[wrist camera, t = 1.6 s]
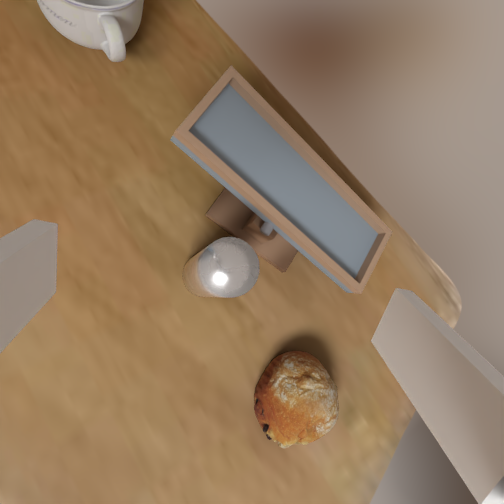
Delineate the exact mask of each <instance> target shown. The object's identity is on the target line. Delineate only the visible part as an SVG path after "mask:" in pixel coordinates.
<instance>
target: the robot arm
mask: <svg viewBox="0 0 504 504" xmlns="http://www.w3.org/2000/svg"><path fill="white" fill-rule="evenodd" d="M57 233H58V224H56V223H51V222H45V221H40V220H35V219H33V220H32V221H30V222H28V223H26V224H25V225H23V226H21V227H19V228H18V229H16V230H14V231H12V232H11V233H9V234H7V235H5V236H4V237H2V238H0V353H1V352H2V351H3V350H4V349H5V347H6V346H7V345H8V344H9V343H10V342H11V341H12V340H13V339H14V338H15V337H16V335H17V334H18V333H19V332H20V331H21V330H22V329H23V328H24V327H25V326H26V324H27V323H28V322H29V321H30V320H31V319H32V318H33V317H34V316H35V315H36V314H37V312H38V311H39V310H40V309H41V308H42V307H43V306H44V305H45V304H46V303H47V301H48V300H49V299H50V298H51V297H52V296H53V295H54V294H55V293H56V272H57ZM371 342H372V343H373V345H374V346H375V348H376V349H377V351H378V352H379V354H380V355H381V357H382V358H383V360H384V361H385V363H386V364H387V366H388V367H389V369H390V370H391V372H392V373H393V375H394V376H395V378H396V379H397V381H398V382H399V384H400V386H401V387H402V389H403V390H404V392H405V393H406V395H407V396H408V398H409V399H410V401H411V402H412V404H413V405H414V407H415V408H416V410H417V411H418V413H419V414H420V416H421V417H422V419H423V420H424V422H425V423H426V425H427V426H428V428H429V429H430V431H431V432H432V434H433V435H434V437H435V438H436V440H437V441H438V443H439V444H440V446H441V447H442V449H443V450H444V452H445V453H446V455H447V456H448V458H449V459H450V461H451V463H452V464H453V465H454V467H455V468H456V470H457V472H458V473H459V475H460V476H461V478H462V479H463V481H464V482H465V484H466V485H467V487H468V488H469V490H470V491H471V493H472V494H473V495H474V497H475V499H476V500H477V502H478V503H479V504H504V376H503V375H502V374H501V373H500V372H499V371H498V370H496V368H494V367H493V366H492V365H491V364H490V363H489V362H488V361H487V360H486V359H485V358H484V357H483V356H481V355H480V354H479V353H478V352H477V351H476V350H475V349H474V348H473V347H472V346H471V345H469V343H468V342H466V341H465V340H464V339H463V338H462V337H461V336H460V335H459V334H458V333H457V332H456V331H455V330H453V329H452V328H451V327H450V326H449V325H448V324H447V323H446V322H445V321H444V320H443V319H442V318H441V317H439V316H438V315H437V314H436V313H435V312H434V311H433V310H432V309H431V308H430V307H429V306H428V305H427V304H425V303H424V302H423V301H422V300H421V299H420V298H419V297H418V296H417V295H416V294H415V293H414V292H413V291H409V290H404V289H399V288H396V289H395V291H394V293H393V295H392V297H391V299H390V301H389V304H388V306H387V308H386V310H385V312H384V314H383V316H382V319H381V321H380V323H379V325H378V327H377V329H376V331H375V334H374V336H373V338H372V340H371Z"/></svg>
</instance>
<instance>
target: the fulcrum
mask: <svg viewBox="0 0 504 504" xmlns="http://www.w3.org/2000/svg"><path fill="white" fill-rule="evenodd" d="M205 216H207V217H208V218H210V219H211V220H212V221H214V222H215V223H216V224H218V225H219V226H220V227H222V228H223V229H224V230H226V231H227V232H228V233H230V234H231V235H232V236H234V237H235V238H239V239H241V240H243V241H245V242H247V243H248V244H249V245H250V246H251V247H252V248H253V249H254V251H255V253H257V254H258V255H259V256H261V257H262V258H263V259H265V260H266V261H268V262H269V263H270V264H272V265H273V266H274V267H276V268H277V269H278V270H280V271H281V272H286V270H287V268H288V267H289V265H290V263H291V262H292V260H293V258H294V257H295V255H296V253H297V252H298V250H297V249H296V248H295V247H294V246H292V245H291V244H290V243H289V242H288V241H287V240H285V239H284V238H283V237H282V236H281V235H280V234H278V233H277V232H276V231H275V230H274V229H273V230H272V232H271V233H270V235H269V236H266V235H264V234H262V233H261V232H260V228H261V227H262V225H263V224H264V222H265V221H263V220H262V219H261V218H260V217H259V216H258V215H256V214H255V213H254V212H253V211H252V210H251V209H250V208H248V207H247V206H246V205H245V204H244V203H243V202H241V201H240V200H239V199H238V198H237V197H236V196H235V195H233V194H232V193H231V192H230V191H229V190H228V189H226V188H225V189H224V190H223V191H222V193H221V194H220V196H219V197H218V198H217V200H216V201H215V202H214V204H213V205H212V206H211V208H210V209H209V211H208V212H207V213H206V215H205Z"/></svg>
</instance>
